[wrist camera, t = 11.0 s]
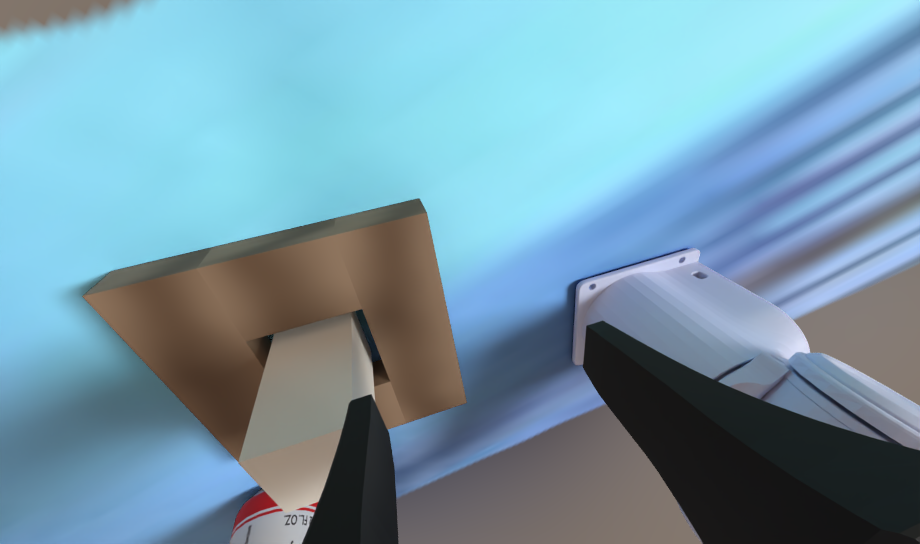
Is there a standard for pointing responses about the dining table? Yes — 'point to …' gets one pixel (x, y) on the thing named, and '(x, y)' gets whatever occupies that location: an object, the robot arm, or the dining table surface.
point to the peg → (305, 407)
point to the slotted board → (291, 313)
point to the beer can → (270, 522)
